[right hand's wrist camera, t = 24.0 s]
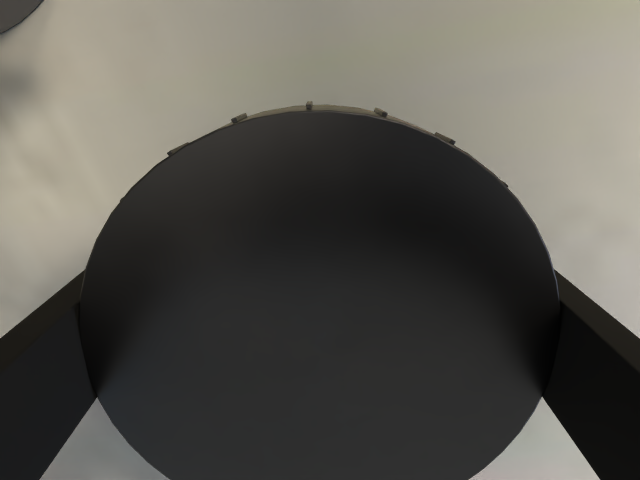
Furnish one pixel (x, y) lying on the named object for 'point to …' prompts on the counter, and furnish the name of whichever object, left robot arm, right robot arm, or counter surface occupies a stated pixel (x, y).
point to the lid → (319, 304)
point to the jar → (15, 12)
